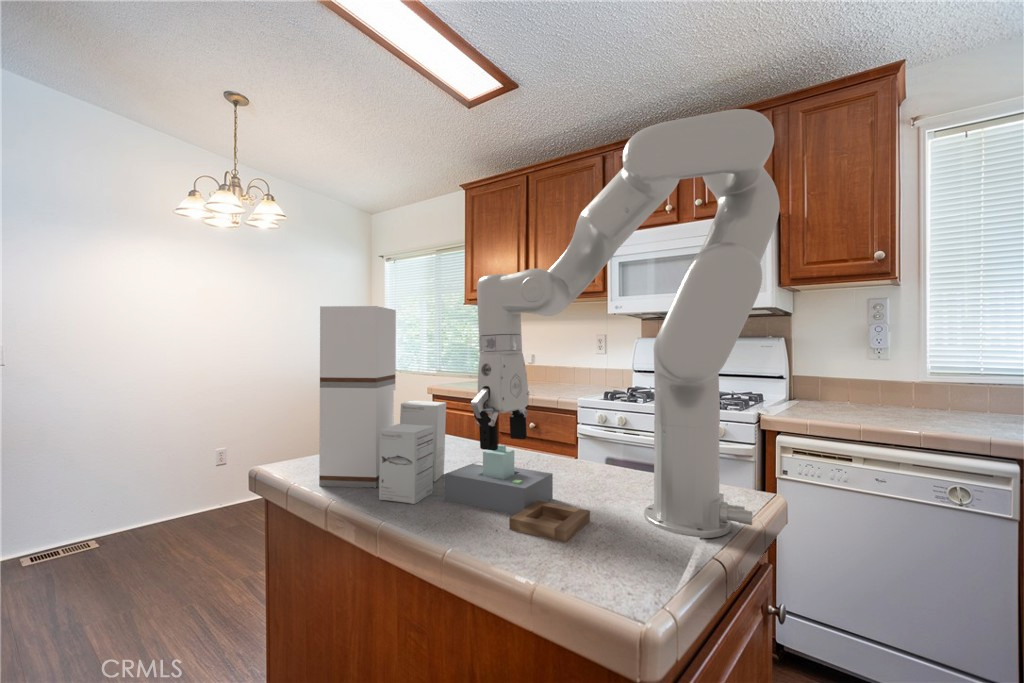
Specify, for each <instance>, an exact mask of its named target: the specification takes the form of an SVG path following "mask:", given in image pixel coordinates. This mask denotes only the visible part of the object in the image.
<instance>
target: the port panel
mask: <svg viewBox="0 0 1024 683" xmlns="http://www.w3.org/2000/svg"><path fill="white" fill-rule="evenodd" d="M553 474H554V473H551V472H546V471H539V470H532V469H528V468H521V467H515V466H514V475H513V476H511V477H509V478H507V479H504V480H502V479H497V478H491V477H486V476H483V461H476V462H473V463H470V464H468V465H465V466H462V467H459V468H457V469H454V470H451V471H449V472H446V473H444V503H447V502H448V501H450V502H456V503H461V504H465V505H470V506H475V507H477V508H478V507H479V508H483V509H488V510H493V511H496V512H501V513H506V514H511V515H513V516H514V515H515V514H517V513H518V512H520V511H522V510H523V509H525V508H527V507H528V506H530V505H531V504H533V503H535V502H536V501H543V502H548V503H549V502H550V501H551V500H553V499H554V498H553V491H554V490H553V486H554V485H553V484H554V483H553V479H554V478H553Z"/></svg>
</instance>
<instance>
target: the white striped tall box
mask: <svg viewBox="0 0 1024 683" xmlns="http://www.w3.org/2000/svg"><path fill="white" fill-rule="evenodd" d="M396 311H397V310H396V309H393V308H388V307H383V306H377V305H372V306H371V305H367V306H366V305H355V306H354V305H352V306H351V305H349V306H347V305H341V306H340V305H338V306H337V305H336V306H335V305H334V306H333V305H331V306H330V305H328V306H327V305H326V306H324V305H322V306H319V451H318V452H319V456H318V457H319V465H318V466H319V470H318V471H319V473H318V474H319V476H318V477H319V478H318V479H319V481H318V482H319V487H333V488H336V487H338V488H362V487H374V488H373V489H376V487H377V486H378V485H379V466H380V430H381V429H384V428H387V427H390V426H393V425H394V407H395V406H394V401H395V400H394V397H395V396H394V391H396V377H397V376H396V373H397V372H396V370H397V369H396V366H397V365H396V359H397V356H396V349H397V348H396V339H397V338H396V336H397V333H396V332H397V331H396V329H397V327H396V326H397V325H396V323H397V319H396V318H397V317H396V316H397V312H396ZM378 487H379V486H378ZM378 487H377V488H378Z"/></svg>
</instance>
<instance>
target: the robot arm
mask: <svg viewBox="0 0 1024 683" xmlns="http://www.w3.org/2000/svg"><path fill="white" fill-rule="evenodd" d="M774 130H775V129H774V127H773V125H772V122H770V120H769V119H768V117H767V116H765V115H764V114H763V113H761V112H759V111H756V110H752V109H747V108H744V109H743V108H741V109H740V108H735V109H727V110H722V111H716V112H712V113H706V114H700V115H694V116H688V117H683V118H678V119H673V120H668V121H664V122H659V123H656V124H653V125H650V126H647V127H644V128H642V129H641V130H638V131H637V132H636V133H634V134H633V135H632V136H631V137H630V138H629V139H628V141H627V142H626V144H625V146H624V148H623V151H622V159H621V161H622V166H623V167H622V168H621V169H620V170H619V171H618V173H616V174H615V176H614V177H613V178H612V179H611V180H610V181H609V182H608V183H607V184H606V185H605V186H604V187H603V189H602V190H601V191H600V192H599V193H598V194H597V195H596V196H595V197H594V198H593V199H592V200H591V201H590V202H589V203H588V205H586V206H585V208H584V209H583V210H582V211H581V212H580V214H579V216H578V219H577V220H576V224H575V227H574V232H573V236H572V238H571V240H570V242H569V244H568V246H567V248H566V249H565V251H563V254H562V255H561V256H560V257H559V259H557V261H555V263H554V264H553V265H552V266H551V267H550V268H549V269H548V270H547V269H544V268H529V269H525V270H521V271H518V272H513V273H509V274H507V273H506V274H501V273H498V274H497V273H496V274H488V275H484V276H481V277H480V278H479V280H477V283H476V296H477V300H476V301H477V302H476V303H477V323H478V324H477V325H478V346H479V350H478V354H479V359H478V367H477V368H478V369H477V370H478V371H477V395H476V396H475V397H474V398H473V399H472V400H471V402H470V405H471V408H472V411H473V418H475V420H476V424H477V426H479V448H480V449H481V450H485V451H487V450H497V449H498V445H499V443H498V442H499V436H498V425H495V424H496V422H497V418H498V417H499V416H498V415H499V414H500V413H501V414H506V413H510V414H511V416H509V435H510V436H509V437H510V438H511V439H514V440H526V439H527V437H528V436H527V417H528V407H529V402H530V401H529V398H530V391H529V385H528V375H527V374H528V373H527V369H526V368H527V366H526V362H525V358H524V357H525V356H524V353H523V339H522V317H521V316H522V315H521V314H522V313H524V314H533V315H539V316H543V317H554V316H557V315H559V314H561V313H562V312H563V311H565V310H566V309H567V308H568V307H569V306H570V305H571V304H572V303H573V302H574V301H575V300H577V298H578V297H579V296H580V295H581V294H582V293H583V292H584V291H585V290H586V289H587V288H588V286H589V285H590V284H591V283H592V282H593V281H594V280H595V279H596V278H597V276H598V275H599V274H600V272H601V271H602V270H603V268H604V267H605V266H606V265H607V264H608V262H609V261H610V260H611V259H612V258H613V257H614V255H615V254H616V252H617V251H618V250H619V248H620V247H621V246H622V245H623V244H624V243H625V242H626V241H627V240H628V239H629V238H630V236H632V235H633V234H634V233H635V232H636V231H637V229H639V227H640V226H641V225H643V224H644V222H645V221H646V220H647V219H648V218H649V217H651V215H652V214H654V212H655V211H656V210H658V209H659V207H660V206H661V205H662V204H663V203H664V202H665V201H666V200H667V199H668V198H669V196H670V195H671V194H672V193H673V192H674V191H675V189H676V188H677V187H678V184H679V182H680V180H687V179H694V178H700V177H702V179H703V182H704V184H705V186H706V187H707V188H708V190H709V191H710V192H711V193H712V194H713V196H714V197H715V199H716V202H717V209H716V213H715V216H714V218H713V220H712V223H711V225H710V227H709V230H708V232H707V235H706V237H705V240H703V241H704V242H703V244H702V246H701V247H700V251H699V252H698V253H697V254H696V255H695V256H694V257H693V258H692V260H691V261H690V263H689V265H688V267H687V269H686V271H685V273H684V276H683V279H682V281H681V283H680V284H679V287H678V289H677V292H676V294H675V296H674V298H673V300H672V301H671V302H672V303H671V304H670V307H669V309H668V311H667V313H666V316H665V318H664V319H663V322H662V324H661V327H660V329H659V331H658V332H657V335H656V336H655V339H654V345H653V367H654V369H653V371H654V402H653V403H654V406H653V408H654V411H653V412H654V418H653V419H654V421H653V422H654V423H653V428H654V429H653V445H654V446H653V449H654V450H653V467H654V468H653V470H654V471H653V472H654V473H653V474H654V475H653V480H654V481H653V503H652V504H650V505H648V506H646V507H645V508H644V511H643V516H644V517H643V518H644V519H645V521H646V522H648V523H649V524H650V525H652V526H654V527H656V528H658V529H660V530H663V531H666V532H670V533H673V534H677V535H678V534H680V535H685V536H690V537H691V536H694V537H699V539H714V538H719V537H722V536H725V535H726V534H728V533H730V531H731V530H732V523H731V522H736V523H738V524H741V525H742V524H743V525H748V526H753V519H754V517H753V516H754V515H753V513H754V512H753V511H752V510H746V508H745V506H743V505H742V506H741V505H733V504H728V502H727V501H725V500H724V499H725V494H724V493H720V425H721V419H720V418H721V410H720V409H721V407H720V406H721V405H720V401H721V400H720V378H719V377H720V376H719V372H721V370H722V369H723V368H724V366H725V364H726V363H727V361H728V359H729V357H730V355H731V353H732V351H733V349H734V347H735V345H736V343H737V341H738V338H739V336H740V335H741V332H742V330H743V328H744V326H745V324H746V322H747V320H748V318H749V316H750V313H751V312H752V309H753V308H754V305H755V303H756V301H757V299H758V296H759V293H760V291H761V288H762V287H761V286H762V285H763V284H762V282H763V271H762V270H763V269H762V265H761V261H762V260H763V257H764V255H765V252H766V250H767V248H768V245H769V243H770V241H771V237H772V235H773V233H774V231H775V228H776V225H777V222H778V219H779V215H780V206H781V205H780V204H781V202H780V197H779V196H780V195H779V194H778V189H777V187H776V185H775V182H774V179H772V177H771V175H770V174H769V173H768V171H767V170H766V169H765V167H764V166H765V164H766V163H767V162H768V159H769V158H770V156H771V154H772V151H773V148H774V144H775V131H774ZM489 414H490V415H489Z"/></svg>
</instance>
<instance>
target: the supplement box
mask: <svg viewBox="0 0 1024 683" xmlns="http://www.w3.org/2000/svg"><path fill="white" fill-rule="evenodd" d="M433 434H434V426H425V425H411V424H400V423H397V424H393V426H390V427H387V428H384V429H381V430H380V466H379V486H378V488H379V489H378V490H379V491H378V500H379V501H388V502H389V501H390V502H391V501H392V502H398V503H406V504H411V505H416V504H418V503H419V502H420V501H422V500H423V499H425V498H426V497H428V496H430V494H433V490H434V488H433V484H434V482H433Z"/></svg>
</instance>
